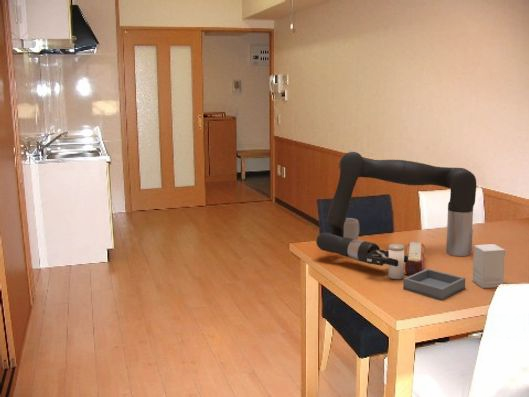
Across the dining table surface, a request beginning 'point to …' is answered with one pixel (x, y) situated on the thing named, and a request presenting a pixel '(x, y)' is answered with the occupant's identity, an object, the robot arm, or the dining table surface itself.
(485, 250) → the supplement box
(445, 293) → the tray
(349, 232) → the mug
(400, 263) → the canister
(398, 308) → the dining table surface
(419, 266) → the snack package
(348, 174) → the robot arm
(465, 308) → the dining table surface
